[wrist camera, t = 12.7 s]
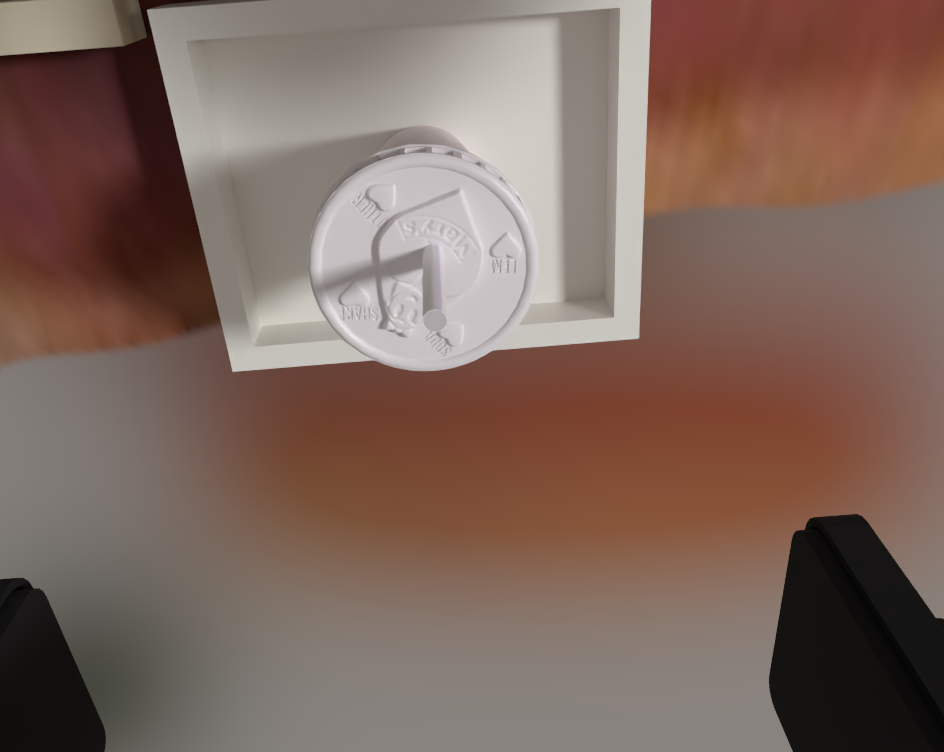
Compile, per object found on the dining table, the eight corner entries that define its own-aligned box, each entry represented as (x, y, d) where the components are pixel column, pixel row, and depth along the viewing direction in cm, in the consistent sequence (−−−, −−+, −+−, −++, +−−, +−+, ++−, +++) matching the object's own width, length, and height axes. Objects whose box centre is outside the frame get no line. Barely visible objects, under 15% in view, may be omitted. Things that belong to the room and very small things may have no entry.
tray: (634, -33, 28) (652, -30, 26) (625, 312, 34) (638, 338, 32) (168, 3, 28) (146, 9, 26) (245, 343, 34) (232, 371, 32)
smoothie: (538, 131, 30) (619, 270, 18) (467, 281, 33) (494, 493, 20) (374, 55, 28) (338, 151, 16) (313, 219, 31) (243, 408, 19)
